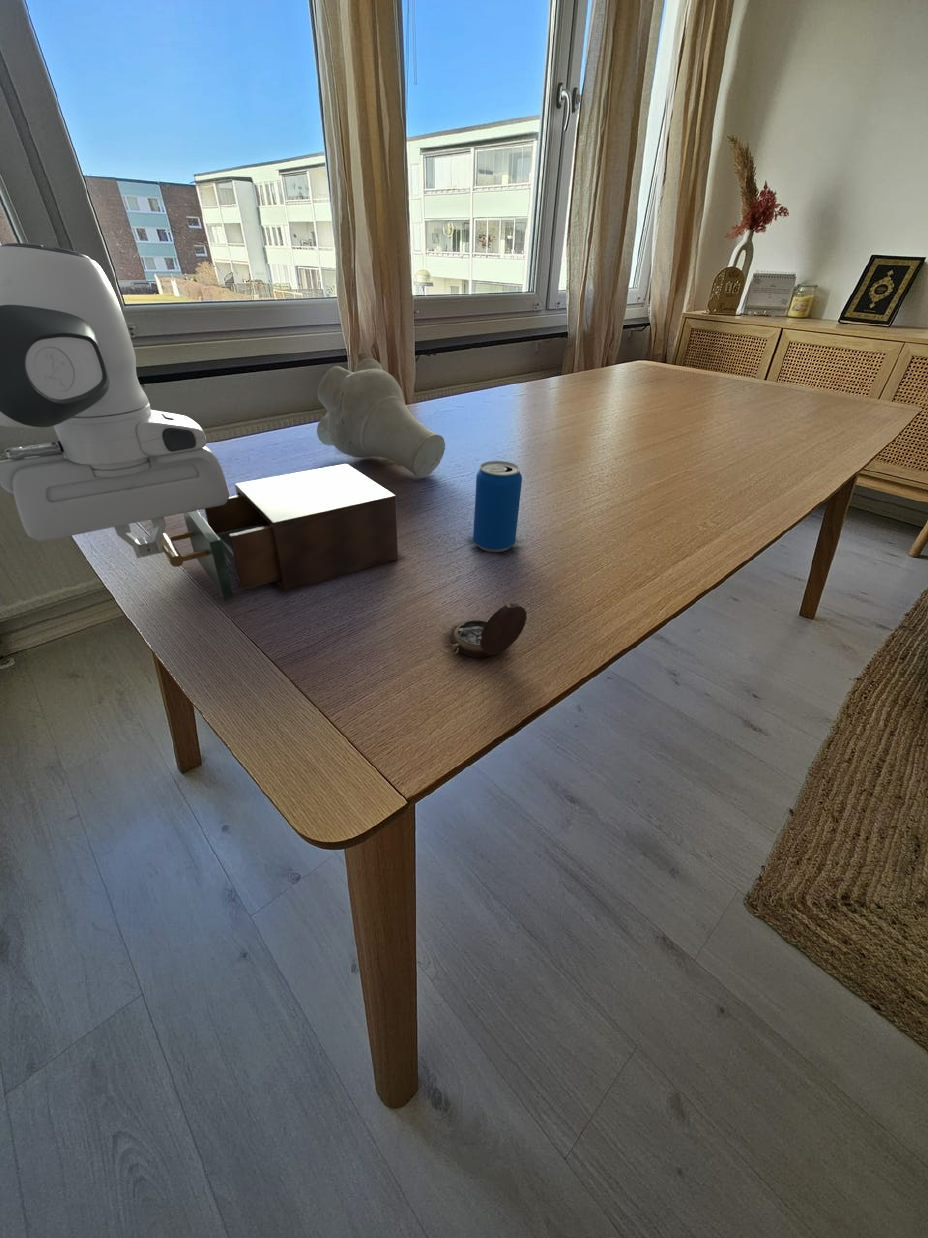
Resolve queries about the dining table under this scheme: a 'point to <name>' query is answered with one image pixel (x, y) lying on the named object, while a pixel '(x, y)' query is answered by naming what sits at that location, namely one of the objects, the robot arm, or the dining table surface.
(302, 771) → the dining table surface
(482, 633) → the compass
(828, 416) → the dining table surface
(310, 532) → the cabinet
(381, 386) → the vase
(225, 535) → the tray
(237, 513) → the drawer
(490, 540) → the beverage can
